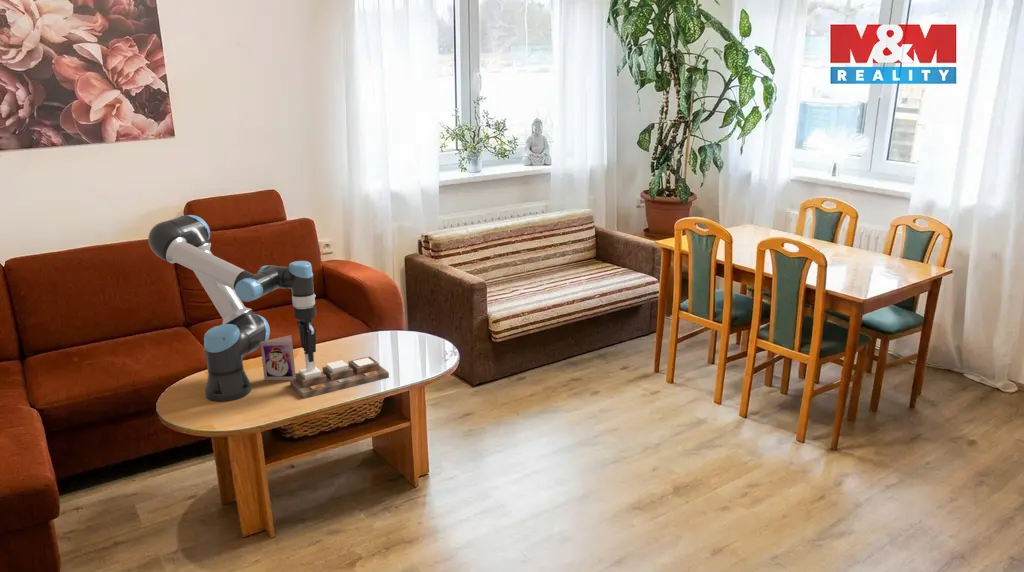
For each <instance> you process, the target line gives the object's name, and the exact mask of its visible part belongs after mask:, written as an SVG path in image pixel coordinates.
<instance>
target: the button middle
mask: <svg viewBox="0 0 1024 572" xmlns="http://www.w3.org/2000/svg"><path fill="white" fill-rule="evenodd" d="M325 365H326V366H327V369H328V370H329V371H330V372H331V373H336V372H340V371H344V370H349V367H348V366H349V363H346V362H345V361H344V360H343V359H341V360H335V361H332V362H328V363H326V364H325Z"/></svg>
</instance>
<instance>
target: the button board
mask: <svg viewBox="0 0 1024 572" xmlns="http://www.w3.org/2000/svg"><path fill="white" fill-rule="evenodd" d="M364 358H369V359H370V360H372V361H373V362H374V364H370V365H366V366H361V367H358V366H356V365H355V364H354V363H353V361H355V360H359V359H364ZM347 364H348V367H349V370H344V371H340V372H336V373H331V372H330V371H329V370H328V369H327V365H326V366H322V368H321V369H322V376H319V377H315V378H311V379H306V380H304V379H303V378H302V377H301V376H300V371H299V372H295V376H296V378H295V379H291V380H289V386H291V387H292V388H293V390H294V391H295V392H297V394H299V395H300V397H301V396H302V397H303V398H302V397H301V398H302V399H303V400H304V399H308V398H311V397H316V396H319V395H324V394H329V393H331V392H332V393H333V392H336V391H339V390H344V389H348V388H352V387H356V386H360V385H363V384H368V383H371V382H377V381H379V380H380V381H381V380H384V379H388V378H390V373H389V371H387V370H386V369H385V368H384V367H382V366H381V365H380V363H379V362H378V361H376V359H374V358H373V357H371V356H370V355H369V356H365V357H364V356H363V357H360V358H356V359H351V360H348V363H347ZM318 369H319V370H321V369H320V368H318Z"/></svg>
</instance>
